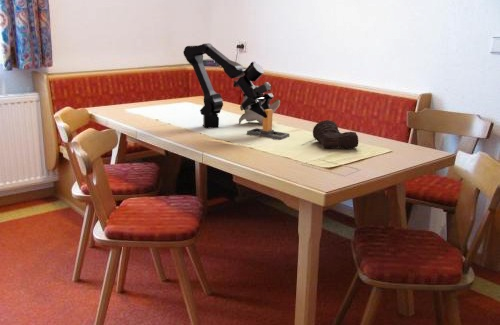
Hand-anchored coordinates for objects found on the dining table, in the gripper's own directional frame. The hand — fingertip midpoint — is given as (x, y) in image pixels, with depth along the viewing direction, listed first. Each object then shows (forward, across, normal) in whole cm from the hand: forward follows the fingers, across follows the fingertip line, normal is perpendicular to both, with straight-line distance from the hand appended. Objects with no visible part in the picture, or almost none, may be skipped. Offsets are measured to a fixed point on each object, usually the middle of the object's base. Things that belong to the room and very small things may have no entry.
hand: (269, 116), depth 208 cm
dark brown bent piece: (+27, +4, -14) cm, 31 cm away
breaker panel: (+6, 0, +7) cm, 9 cm away
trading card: (+35, -25, -22) cm, 48 cm away
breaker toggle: (+5, 0, +6) cm, 8 cm away
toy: (-5, +18, +18) cm, 26 cm away
